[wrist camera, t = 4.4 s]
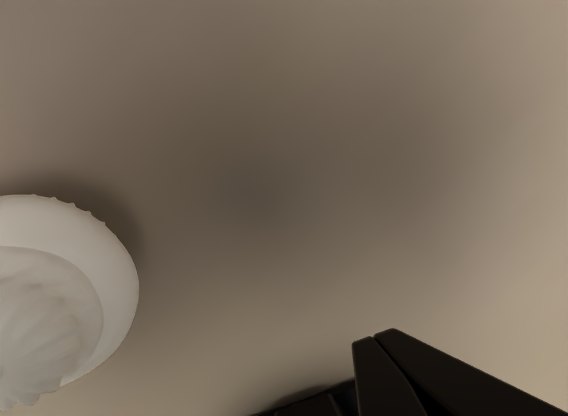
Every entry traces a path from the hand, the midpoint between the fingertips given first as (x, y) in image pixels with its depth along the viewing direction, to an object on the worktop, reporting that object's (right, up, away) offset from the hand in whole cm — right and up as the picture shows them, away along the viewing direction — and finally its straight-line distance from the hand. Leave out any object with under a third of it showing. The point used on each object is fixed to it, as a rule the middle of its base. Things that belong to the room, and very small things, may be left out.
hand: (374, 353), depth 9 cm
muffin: (-10, +1, +8) cm, 13 cm away
